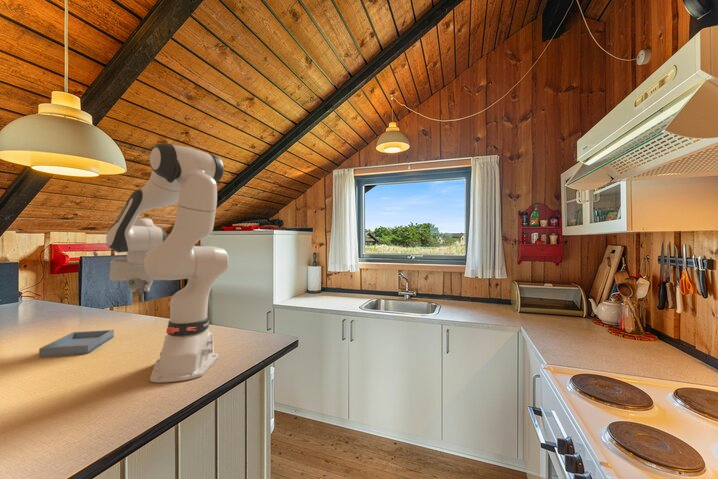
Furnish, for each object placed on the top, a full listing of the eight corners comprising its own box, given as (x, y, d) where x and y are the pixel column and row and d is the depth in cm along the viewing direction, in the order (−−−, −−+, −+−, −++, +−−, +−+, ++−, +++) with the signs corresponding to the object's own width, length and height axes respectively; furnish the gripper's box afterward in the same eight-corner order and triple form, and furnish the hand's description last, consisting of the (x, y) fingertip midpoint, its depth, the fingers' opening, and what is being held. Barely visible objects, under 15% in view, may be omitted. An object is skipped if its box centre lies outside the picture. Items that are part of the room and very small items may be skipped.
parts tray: (87, 353, 104) (87, 345, 104) (39, 357, 100) (39, 348, 100) (113, 337, 121) (113, 329, 121) (72, 339, 117) (73, 332, 117)
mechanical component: (154, 299, 126) (152, 275, 126) (135, 305, 116) (134, 280, 115) (147, 299, 126) (145, 275, 126) (128, 305, 116) (126, 280, 115)
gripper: (105, 258, 114) (105, 293, 115) (165, 258, 120) (165, 291, 120) (114, 257, 120) (114, 290, 121) (171, 257, 126) (170, 289, 126)
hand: (140, 291), depth 120 cm, fingers closed on mechanical component, 3 cm apart
